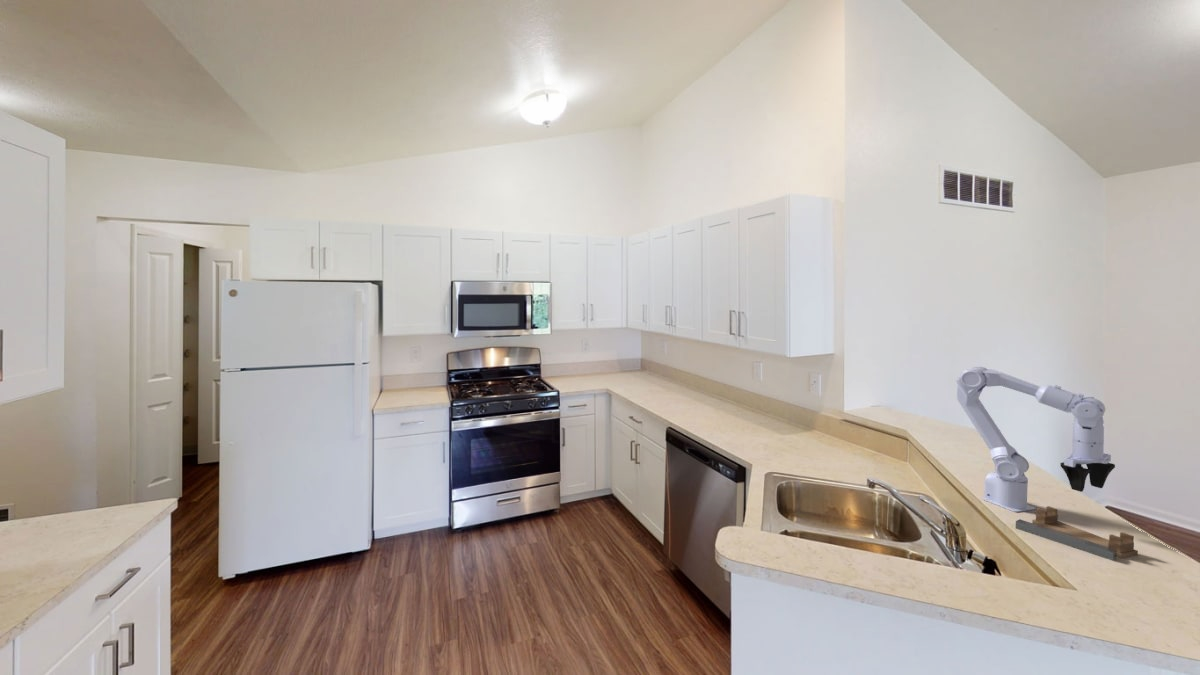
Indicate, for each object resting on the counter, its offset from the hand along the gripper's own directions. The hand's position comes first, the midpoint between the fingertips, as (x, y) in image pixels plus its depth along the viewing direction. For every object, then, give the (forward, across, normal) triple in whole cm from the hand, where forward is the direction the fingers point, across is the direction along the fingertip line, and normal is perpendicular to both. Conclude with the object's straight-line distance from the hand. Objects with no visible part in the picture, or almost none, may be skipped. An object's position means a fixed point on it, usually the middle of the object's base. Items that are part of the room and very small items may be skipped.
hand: (1087, 488), depth 120 cm
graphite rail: (+11, -17, -5) cm, 21 cm away
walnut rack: (+10, -10, -4) cm, 15 cm away
